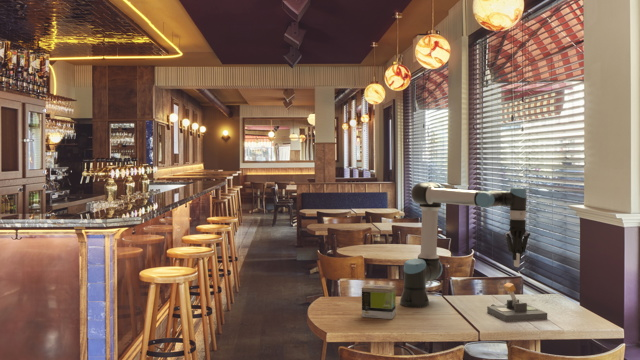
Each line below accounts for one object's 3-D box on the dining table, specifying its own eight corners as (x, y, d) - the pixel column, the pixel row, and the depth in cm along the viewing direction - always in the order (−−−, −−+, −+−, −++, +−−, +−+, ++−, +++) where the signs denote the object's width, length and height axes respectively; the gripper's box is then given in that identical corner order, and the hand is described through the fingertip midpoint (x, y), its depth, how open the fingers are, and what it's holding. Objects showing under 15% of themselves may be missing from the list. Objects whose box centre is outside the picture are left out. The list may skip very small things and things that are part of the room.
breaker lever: (518, 310, 287) (508, 287, 285) (512, 308, 292) (503, 285, 290) (523, 308, 287) (513, 284, 286) (517, 305, 292) (508, 282, 291)
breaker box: (505, 321, 278) (505, 307, 278) (479, 308, 304) (479, 295, 304) (547, 319, 283) (547, 304, 283) (518, 306, 308) (518, 293, 308)
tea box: (395, 314, 291) (396, 285, 290) (391, 320, 281) (391, 289, 281) (366, 312, 295) (366, 283, 295) (361, 317, 286) (361, 287, 286)
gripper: (509, 219, 283) (508, 268, 284) (533, 219, 286) (532, 267, 287) (501, 218, 291) (500, 265, 291) (525, 218, 293) (524, 264, 294)
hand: (516, 266), depth 289 cm, fingers closed
